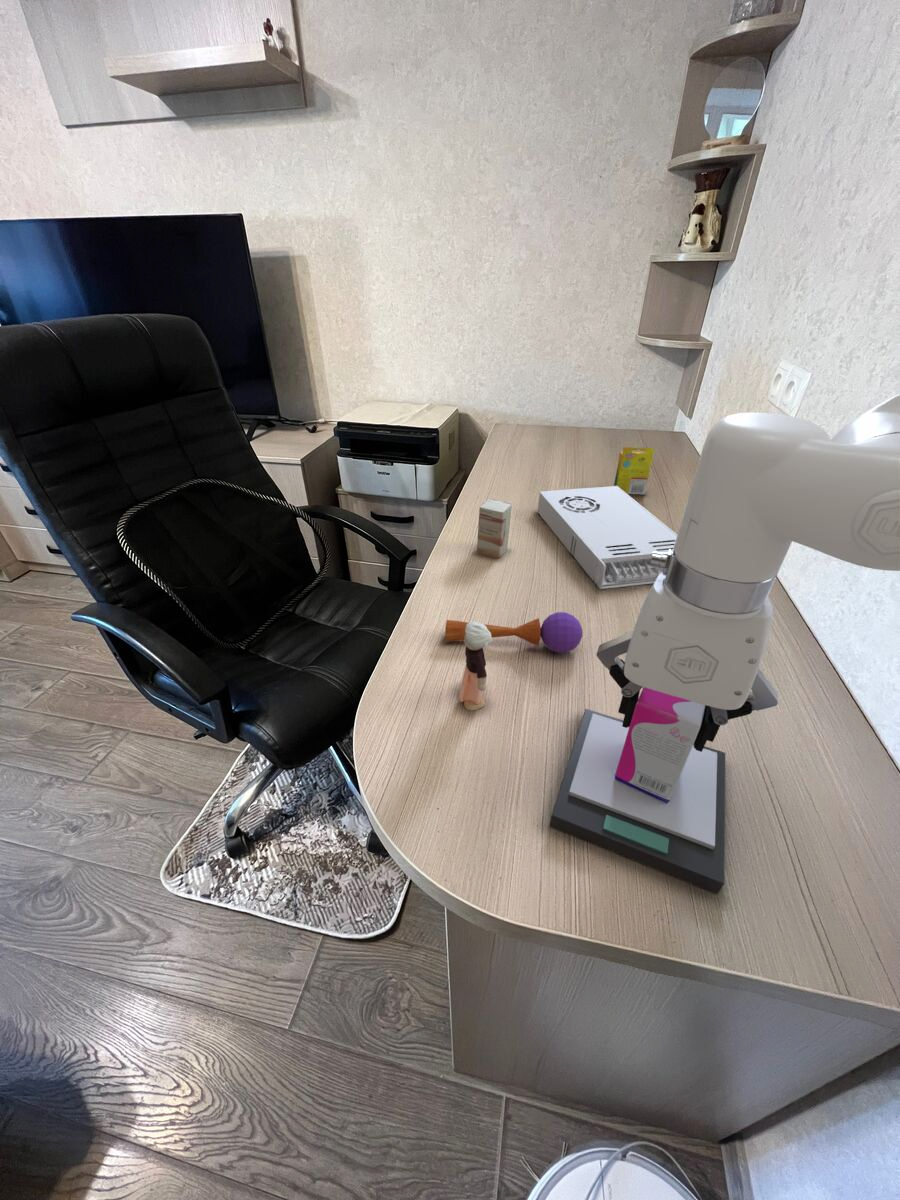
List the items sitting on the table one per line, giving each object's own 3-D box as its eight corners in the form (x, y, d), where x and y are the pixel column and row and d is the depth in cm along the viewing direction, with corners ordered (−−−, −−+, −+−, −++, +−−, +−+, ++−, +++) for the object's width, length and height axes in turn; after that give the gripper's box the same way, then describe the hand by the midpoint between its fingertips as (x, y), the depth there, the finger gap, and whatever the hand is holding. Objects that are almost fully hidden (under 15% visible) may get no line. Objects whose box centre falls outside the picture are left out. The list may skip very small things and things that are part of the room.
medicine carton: (475, 553, 99) (477, 506, 93) (485, 544, 102) (487, 497, 96) (500, 559, 97) (503, 511, 91) (508, 550, 100) (512, 503, 94)
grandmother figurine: (449, 685, 69) (449, 610, 61) (474, 678, 70) (478, 604, 63) (470, 725, 63) (473, 648, 56) (498, 717, 64) (504, 640, 57)
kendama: (448, 604, 77) (580, 605, 75) (450, 638, 80) (578, 641, 77) (443, 621, 72) (585, 623, 69) (445, 657, 74) (583, 660, 72)
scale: (720, 763, 58) (727, 749, 57) (717, 894, 46) (726, 880, 45) (583, 719, 64) (586, 704, 62) (549, 826, 52) (552, 811, 50)
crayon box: (642, 490, 126) (653, 444, 119) (644, 495, 123) (656, 448, 117) (612, 489, 126) (621, 443, 120) (614, 493, 124) (623, 447, 117)
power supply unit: (599, 590, 88) (604, 565, 86) (537, 512, 115) (539, 491, 112) (695, 579, 91) (703, 555, 89) (613, 505, 118) (617, 485, 115)
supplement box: (680, 764, 55) (712, 689, 49) (668, 805, 51) (701, 729, 44) (627, 741, 58) (651, 667, 51) (612, 779, 53) (635, 703, 47)
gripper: (599, 576, 40) (568, 727, 51) (852, 632, 34) (759, 790, 45) (615, 536, 46) (584, 680, 56) (835, 579, 40) (756, 731, 50)
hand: (662, 727), depth 50 cm, fingers closed on supplement box, 6 cm apart
